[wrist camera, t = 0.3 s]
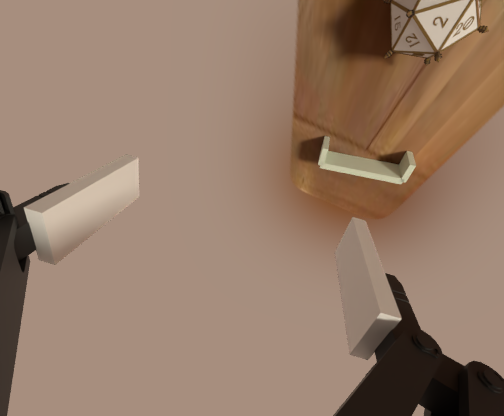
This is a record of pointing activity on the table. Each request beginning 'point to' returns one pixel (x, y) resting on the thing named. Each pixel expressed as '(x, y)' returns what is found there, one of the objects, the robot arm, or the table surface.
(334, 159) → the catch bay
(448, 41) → the game die
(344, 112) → the table surface
